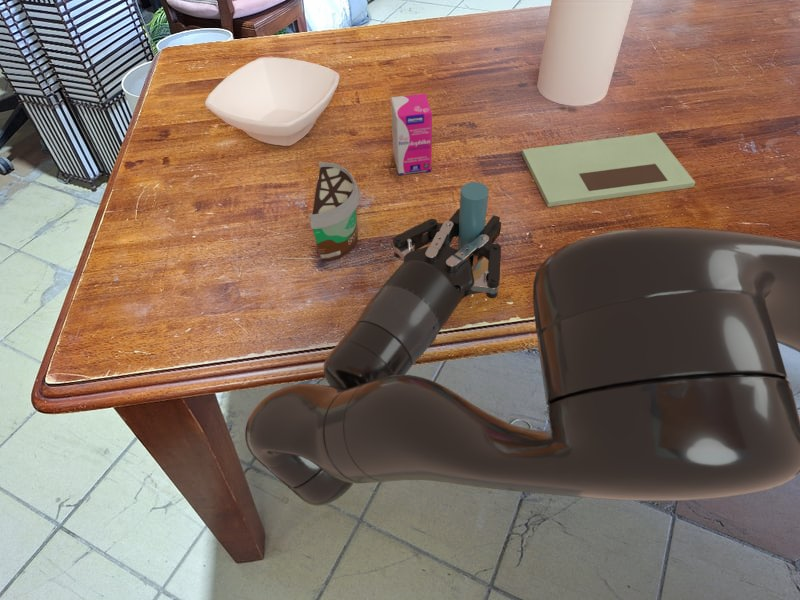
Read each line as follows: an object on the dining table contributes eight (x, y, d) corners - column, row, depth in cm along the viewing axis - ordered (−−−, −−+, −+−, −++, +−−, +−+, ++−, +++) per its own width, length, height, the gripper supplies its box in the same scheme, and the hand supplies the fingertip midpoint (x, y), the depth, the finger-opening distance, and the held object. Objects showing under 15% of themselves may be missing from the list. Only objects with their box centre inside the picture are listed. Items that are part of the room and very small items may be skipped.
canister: (533, 70, 109) (550, -39, 93) (599, 69, 108) (628, -42, 92) (541, 106, 100) (562, -7, 85) (614, 105, 100) (648, -10, 84)
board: (653, 137, 93) (655, 132, 92) (693, 187, 84) (695, 182, 83) (521, 154, 91) (522, 149, 90) (547, 207, 83) (548, 202, 82)
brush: (489, 265, 70) (501, 173, 58) (499, 291, 67) (513, 199, 56) (436, 272, 70) (437, 181, 58) (443, 299, 67) (446, 209, 55)
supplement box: (398, 177, 89) (395, 116, 80) (393, 156, 92) (389, 95, 83) (432, 172, 89) (432, 111, 80) (425, 152, 93) (425, 91, 84)
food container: (362, 268, 76) (355, 216, 68) (320, 269, 76) (308, 217, 68) (367, 211, 84) (361, 158, 76) (328, 211, 84) (318, 159, 76)
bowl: (205, 148, 96) (188, 106, 89) (269, 92, 108) (258, 51, 101) (300, 176, 90) (290, 132, 83) (358, 113, 101) (353, 70, 95)
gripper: (468, 321, 49) (543, 211, 57) (346, 265, 54) (431, 172, 63) (465, 364, 54) (533, 259, 63) (354, 310, 60) (432, 219, 68)
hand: (482, 216), depth 63 cm, fingers closed on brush, 3 cm apart
